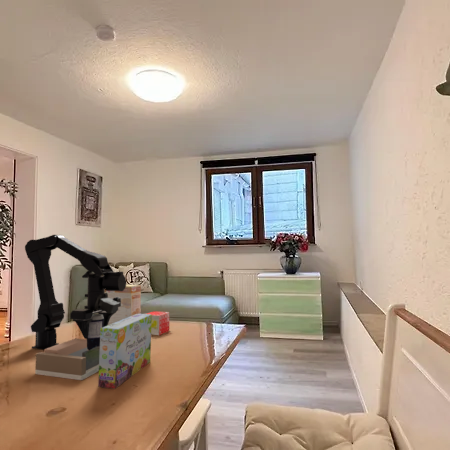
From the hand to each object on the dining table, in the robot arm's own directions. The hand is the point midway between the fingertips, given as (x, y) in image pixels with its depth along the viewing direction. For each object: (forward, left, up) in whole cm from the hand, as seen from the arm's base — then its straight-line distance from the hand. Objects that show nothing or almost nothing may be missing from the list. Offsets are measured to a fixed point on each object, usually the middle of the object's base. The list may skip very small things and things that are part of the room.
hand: (95, 335), depth 119 cm
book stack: (+2, -15, -4) cm, 16 cm away
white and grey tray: (+7, -15, -5) cm, 17 cm away
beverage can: (0, 0, -5) cm, 5 cm away
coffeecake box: (-9, +29, -5) cm, 31 cm away
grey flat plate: (+13, -15, -4) cm, 20 cm away
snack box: (+24, -16, -5) cm, 29 cm away
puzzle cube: (+8, +29, -5) cm, 31 cm away
